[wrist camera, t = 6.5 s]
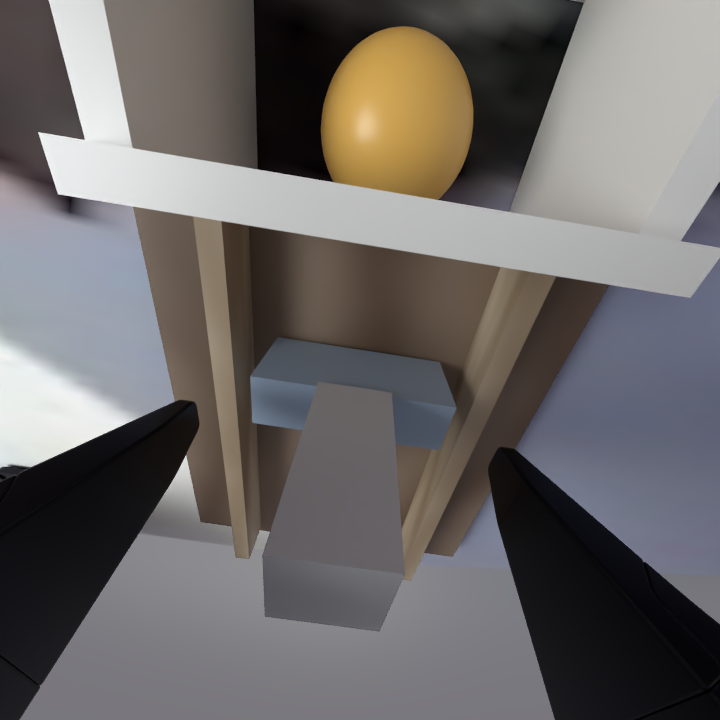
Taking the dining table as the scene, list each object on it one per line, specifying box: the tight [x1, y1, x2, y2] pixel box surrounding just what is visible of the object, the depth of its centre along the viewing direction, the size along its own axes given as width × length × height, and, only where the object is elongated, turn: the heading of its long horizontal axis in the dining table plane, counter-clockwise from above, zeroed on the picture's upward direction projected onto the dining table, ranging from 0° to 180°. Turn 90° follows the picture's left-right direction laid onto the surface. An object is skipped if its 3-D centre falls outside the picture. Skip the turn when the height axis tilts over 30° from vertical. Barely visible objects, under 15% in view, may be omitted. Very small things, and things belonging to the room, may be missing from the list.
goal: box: [38, 0, 720, 298], centre depth 6 cm, size 11×7×7 cm, turn 82°
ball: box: [321, 26, 473, 200], centre depth 8 cm, size 4×4×4 cm
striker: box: [250, 337, 457, 631], centre depth 9 cm, size 7×2×8 cm, turn 82°
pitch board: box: [133, 207, 609, 581], centre depth 14 cm, size 17×20×3 cm
